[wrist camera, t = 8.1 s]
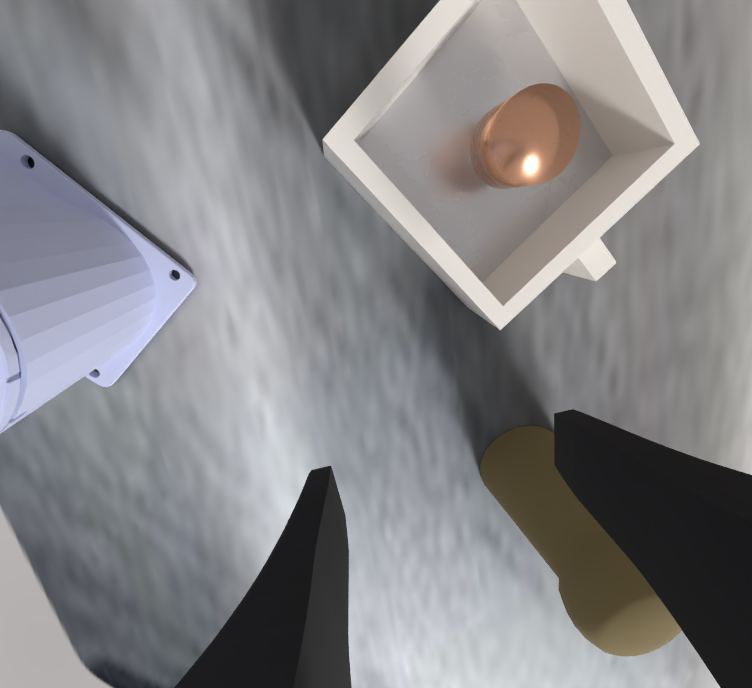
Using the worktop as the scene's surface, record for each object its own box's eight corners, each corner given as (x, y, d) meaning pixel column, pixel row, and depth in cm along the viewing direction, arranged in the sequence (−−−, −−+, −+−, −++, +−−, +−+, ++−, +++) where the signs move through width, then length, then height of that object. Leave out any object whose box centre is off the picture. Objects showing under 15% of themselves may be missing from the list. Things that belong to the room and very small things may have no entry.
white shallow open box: (324, 156, 17) (322, 139, 13) (494, -45, 15) (556, -138, 11) (487, 328, 21) (525, 356, 17) (636, 187, 19) (719, 181, 15)
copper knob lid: (348, 155, 17) (355, 134, 12) (496, -16, 15) (571, -117, 11) (470, 288, 20) (514, 313, 15) (605, 157, 18) (701, 138, 14)
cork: (552, 493, 27) (691, 670, 16) (474, 498, 26) (569, 687, 16) (570, 423, 25) (743, 576, 14) (486, 426, 24) (605, 590, 14)
